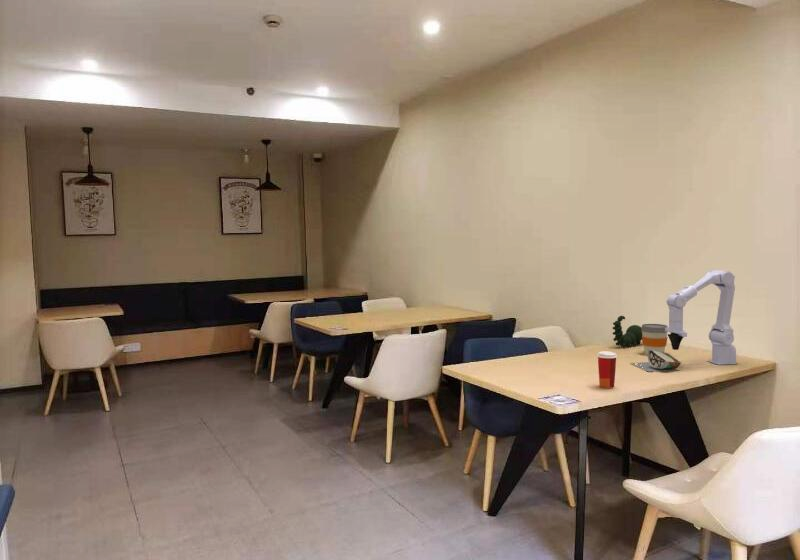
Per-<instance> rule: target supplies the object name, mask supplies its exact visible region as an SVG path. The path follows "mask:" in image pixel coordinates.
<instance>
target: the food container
mask: <svg viewBox="0 0 800 560" xmlns="http://www.w3.org/2000/svg"><path fill="white" fill-rule="evenodd" d="M647 360H648V361H647V362H649V363H650V364H651V366H653V367H654V368H656V369H664V368H672V369H674V370H675V369H678V367H680V365H681V364H682V362H681V361H680V360H678V359H677V358H675V357H674V356H672V355H671V354H670V353H669V352H665V351H664V352H659V351H653V350H649V351H648V355H647Z"/></svg>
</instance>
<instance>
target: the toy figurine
mask: <svg viewBox="0 0 800 560" xmlns="http://www.w3.org/2000/svg"><path fill="white" fill-rule="evenodd" d="M623 320H626V316H624V315H620V316H618V317H617V319H616V320H615V321H614V322H612V324H613V327H612V330H614V331H613V332H612V335H613V336H614V335H615V336H614V337H613V342H615V345H616V346H618V347H619V346H620V347H624V348H625V347H627V348H629V347H630V348H631V347H632V346H634V347H635V346H637V345H636V344H639V345H640V344H641V343H642V331H641V328H642V326H640V325H638V324H633V325H630V326H628V327H627V329H626V331H625V333H624V332H623V330H622V329H623V326H622V323H621V322H622V321H623Z"/></svg>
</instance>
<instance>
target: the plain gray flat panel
mask: <svg viewBox="0 0 800 560" xmlns="http://www.w3.org/2000/svg"><path fill="white" fill-rule="evenodd" d="M630 363H631V364H630V365H632V364H633V365H632V366H634V365H635V363H636V362H630ZM637 363H638V364H637V365H638V366H637V365H636V366H637V367H636V366H635V367H636V368H638V367H640V368H642V367H643V368H642V369H641V370H643V369H644V370H643V371H645V370H646V371H645V372H647V371H648V372H647V373H653V372H652V371H662V372H676V371H677V370H676V369H675V368H674V369H672V368H664V369H656V368H654V367H653V366H651V364H650V363H649V361H646V362H645V361H642V362H637ZM641 364H642V365H641ZM640 365H641V366H640ZM640 368H639V369H640Z"/></svg>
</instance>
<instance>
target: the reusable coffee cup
mask: <svg viewBox="0 0 800 560" xmlns="http://www.w3.org/2000/svg"><path fill="white" fill-rule="evenodd" d="M641 327H642V328H641V331H642V340H641V343H642V346H643V349H644V350H643V351H644V355H645V354H646V355H645V356H648V351H649V350H653V351H659V352H664V353H665V348H666V346H667V343H668V332H665V328H668V327H669V325H666V324H659V323H644V324H643V323H642V324H641Z"/></svg>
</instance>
